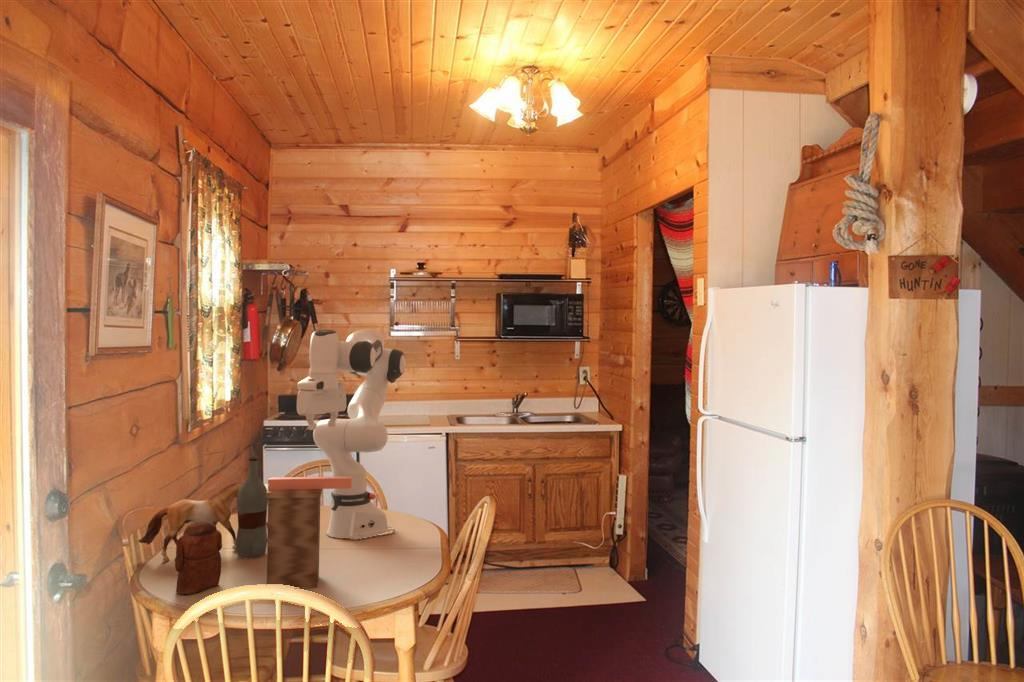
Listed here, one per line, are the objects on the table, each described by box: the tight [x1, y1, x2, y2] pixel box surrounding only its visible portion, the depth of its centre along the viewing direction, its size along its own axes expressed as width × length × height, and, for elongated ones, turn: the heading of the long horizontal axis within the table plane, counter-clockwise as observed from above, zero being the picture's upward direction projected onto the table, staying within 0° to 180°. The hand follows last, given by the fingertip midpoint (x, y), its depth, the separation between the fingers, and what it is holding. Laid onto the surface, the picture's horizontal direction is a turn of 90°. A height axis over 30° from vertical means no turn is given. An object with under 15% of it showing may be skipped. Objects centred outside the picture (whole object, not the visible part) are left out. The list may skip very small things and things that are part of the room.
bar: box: [267, 476, 352, 490], centre depth 205 cm, size 22×3×3 cm, turn 101°
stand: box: [266, 489, 324, 589], centre depth 204 cm, size 14×10×26 cm
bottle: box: [236, 455, 268, 560], centre depth 228 cm, size 9×9×30 cm
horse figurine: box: [138, 482, 244, 562], centre depth 227 cm, size 31×8×21 cm, turn 123°
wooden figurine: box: [174, 520, 223, 595], centre depth 198 cm, size 12×6×18 cm, turn 152°
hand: (322, 428), depth 228 cm, fingers open, 8 cm apart
